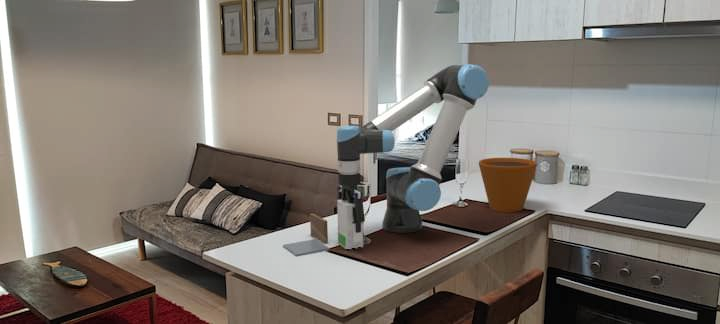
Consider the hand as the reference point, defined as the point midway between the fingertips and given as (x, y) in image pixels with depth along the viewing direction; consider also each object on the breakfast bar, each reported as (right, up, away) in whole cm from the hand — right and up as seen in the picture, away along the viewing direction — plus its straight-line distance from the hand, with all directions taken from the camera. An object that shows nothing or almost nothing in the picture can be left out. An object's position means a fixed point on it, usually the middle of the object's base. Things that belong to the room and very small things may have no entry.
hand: (350, 237), depth 183 cm
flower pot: (+66, +6, +48) cm, 82 cm away
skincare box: (0, -3, 0) cm, 3 cm away
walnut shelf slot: (-6, -1, +12) cm, 13 cm away
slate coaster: (-15, -3, -1) cm, 16 cm away
